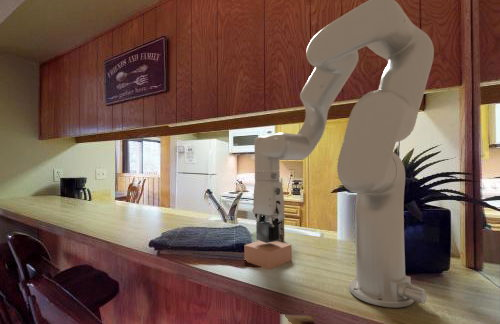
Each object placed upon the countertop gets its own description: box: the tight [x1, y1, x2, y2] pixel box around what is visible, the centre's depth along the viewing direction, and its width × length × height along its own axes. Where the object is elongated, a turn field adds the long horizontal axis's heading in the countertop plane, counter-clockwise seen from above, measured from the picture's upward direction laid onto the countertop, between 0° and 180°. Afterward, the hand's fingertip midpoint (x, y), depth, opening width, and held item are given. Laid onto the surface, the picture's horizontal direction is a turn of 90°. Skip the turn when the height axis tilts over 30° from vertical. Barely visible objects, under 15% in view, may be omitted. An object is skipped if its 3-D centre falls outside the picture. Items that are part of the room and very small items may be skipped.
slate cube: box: [255, 221, 280, 243], centre depth 80 cm, size 5×5×5 cm
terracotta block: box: [243, 240, 293, 270], centre depth 80 cm, size 10×10×5 cm
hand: (267, 237), depth 80 cm, fingers closed on slate cube, 5 cm apart
